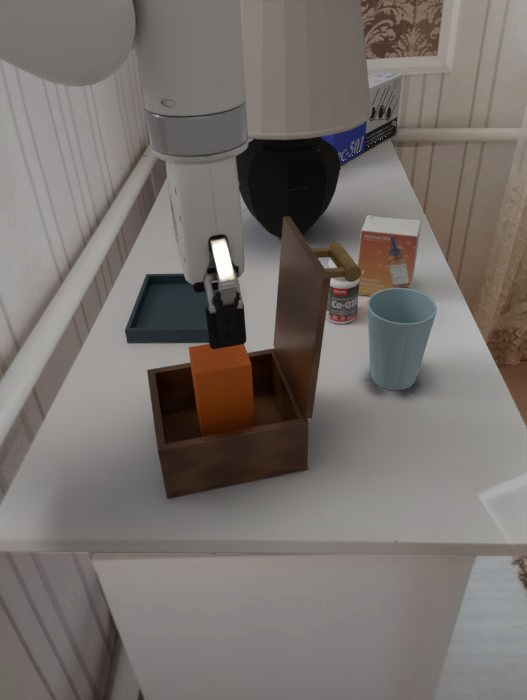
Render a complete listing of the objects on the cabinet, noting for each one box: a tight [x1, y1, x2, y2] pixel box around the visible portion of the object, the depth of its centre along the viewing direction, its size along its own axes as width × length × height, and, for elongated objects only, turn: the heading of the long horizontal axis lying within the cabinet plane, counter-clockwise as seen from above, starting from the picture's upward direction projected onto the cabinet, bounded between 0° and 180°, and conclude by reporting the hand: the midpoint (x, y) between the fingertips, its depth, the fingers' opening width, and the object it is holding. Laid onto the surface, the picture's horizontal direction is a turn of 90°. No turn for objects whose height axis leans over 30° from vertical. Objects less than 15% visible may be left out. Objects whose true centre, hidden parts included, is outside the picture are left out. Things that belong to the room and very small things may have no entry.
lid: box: [273, 216, 361, 419], centre depth 59 cm, size 15×13×5 cm
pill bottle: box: [325, 257, 359, 325], centre depth 82 cm, size 5×5×8 cm
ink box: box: [321, 71, 403, 166], centre depth 137 cm, size 30×7×14 cm, turn 143°
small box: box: [357, 214, 422, 297], centre depth 87 cm, size 8×6×10 cm
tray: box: [124, 273, 219, 344], centre depth 86 cm, size 15×11×2 cm
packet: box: [188, 343, 255, 437], centre depth 62 cm, size 6×4×11 cm
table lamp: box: [236, 0, 372, 238], centre depth 95 cm, size 27×27×40 cm
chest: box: [146, 347, 310, 499], centre depth 64 cm, size 15×13×7 cm
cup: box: [366, 288, 438, 391], centre depth 71 cm, size 8×8×10 cm
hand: (218, 315), depth 56 cm, fingers open, 9 cm apart
